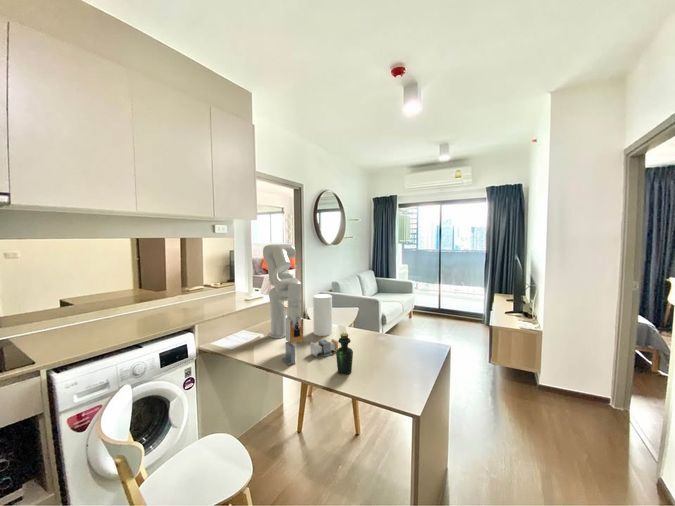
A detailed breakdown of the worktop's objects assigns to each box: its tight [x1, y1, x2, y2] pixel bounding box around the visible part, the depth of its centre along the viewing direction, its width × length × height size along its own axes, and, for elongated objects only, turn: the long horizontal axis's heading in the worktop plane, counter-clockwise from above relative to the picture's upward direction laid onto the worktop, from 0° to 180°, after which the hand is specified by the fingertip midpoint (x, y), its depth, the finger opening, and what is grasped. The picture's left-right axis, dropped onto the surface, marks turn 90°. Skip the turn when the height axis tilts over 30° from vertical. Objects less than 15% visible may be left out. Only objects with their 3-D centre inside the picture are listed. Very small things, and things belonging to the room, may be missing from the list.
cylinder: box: [312, 293, 333, 337], centre depth 189 cm, size 12×12×25 cm
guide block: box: [317, 339, 333, 358], centre depth 156 cm, size 9×5×6 cm, turn 31°
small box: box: [285, 317, 304, 344], centre depth 158 cm, size 8×6×13 cm
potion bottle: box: [335, 332, 354, 376], centre depth 134 cm, size 8×8×18 cm
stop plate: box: [281, 341, 296, 367], centre depth 145 cm, size 8×4×9 cm, turn 31°
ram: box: [310, 338, 339, 358], centre depth 156 cm, size 6×14×6 cm, turn 121°
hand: (294, 334), depth 159 cm, fingers closed on small box, 6 cm apart
